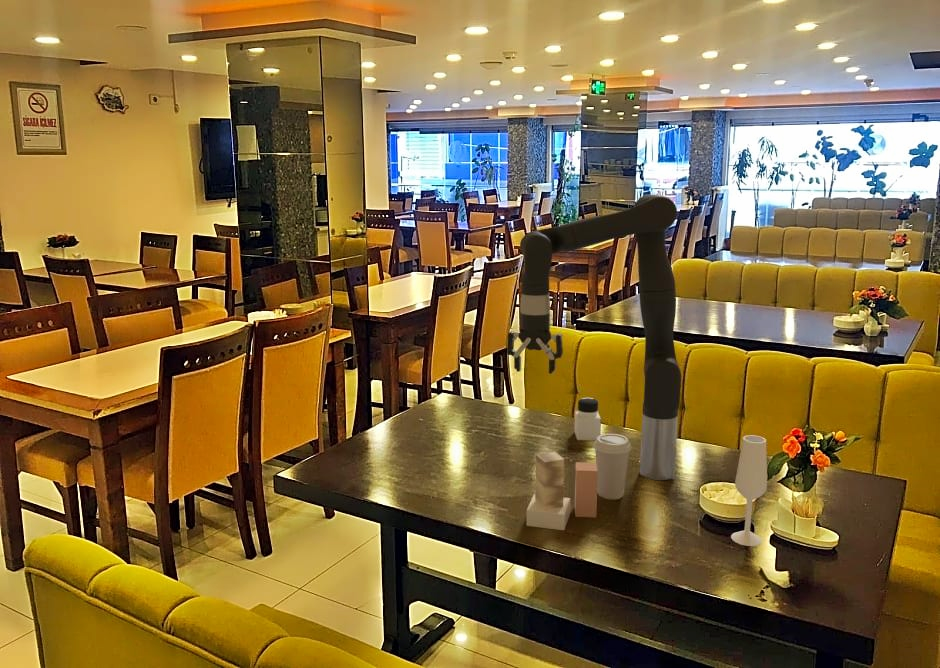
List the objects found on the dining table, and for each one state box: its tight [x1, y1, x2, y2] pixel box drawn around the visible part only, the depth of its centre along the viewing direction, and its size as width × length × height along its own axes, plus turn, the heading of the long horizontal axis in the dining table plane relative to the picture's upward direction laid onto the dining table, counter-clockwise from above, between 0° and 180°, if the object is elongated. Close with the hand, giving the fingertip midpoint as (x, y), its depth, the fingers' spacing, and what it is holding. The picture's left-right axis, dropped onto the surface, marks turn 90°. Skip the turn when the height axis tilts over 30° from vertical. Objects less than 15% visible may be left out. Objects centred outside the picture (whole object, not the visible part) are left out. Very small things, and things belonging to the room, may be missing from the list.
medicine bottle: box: [573, 397, 602, 441], centre depth 236 cm, size 7×7×12 cm
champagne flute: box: [730, 434, 768, 547], centre depth 171 cm, size 7×7×24 cm
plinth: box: [526, 494, 571, 531], centre depth 183 cm, size 9×9×4 cm
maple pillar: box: [534, 451, 565, 510], centre depth 182 cm, size 5×5×12 cm
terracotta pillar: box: [574, 461, 598, 518], centre depth 186 cm, size 5×5×12 cm
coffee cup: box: [592, 433, 632, 500], centre depth 195 cm, size 10×10×15 cm
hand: (534, 371), depth 200 cm, fingers open, 8 cm apart
